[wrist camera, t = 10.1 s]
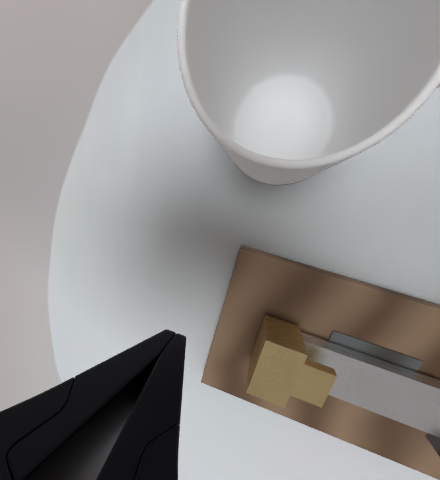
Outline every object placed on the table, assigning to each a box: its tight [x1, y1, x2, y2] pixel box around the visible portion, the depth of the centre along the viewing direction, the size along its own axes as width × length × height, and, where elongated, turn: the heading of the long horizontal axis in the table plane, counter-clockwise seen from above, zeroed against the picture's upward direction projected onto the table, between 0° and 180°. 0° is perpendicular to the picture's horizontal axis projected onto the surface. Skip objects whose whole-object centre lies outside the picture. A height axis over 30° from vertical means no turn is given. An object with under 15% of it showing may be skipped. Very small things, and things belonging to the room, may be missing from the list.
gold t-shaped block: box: [246, 315, 337, 408], centre depth 17 cm, size 6×5×3 cm
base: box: [201, 245, 440, 480], centre depth 17 cm, size 23×15×4 cm, turn 75°
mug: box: [177, 0, 440, 185], centre depth 11 cm, size 9×12×11 cm
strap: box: [301, 332, 440, 438], centre depth 17 cm, size 14×4×1 cm, turn 75°
